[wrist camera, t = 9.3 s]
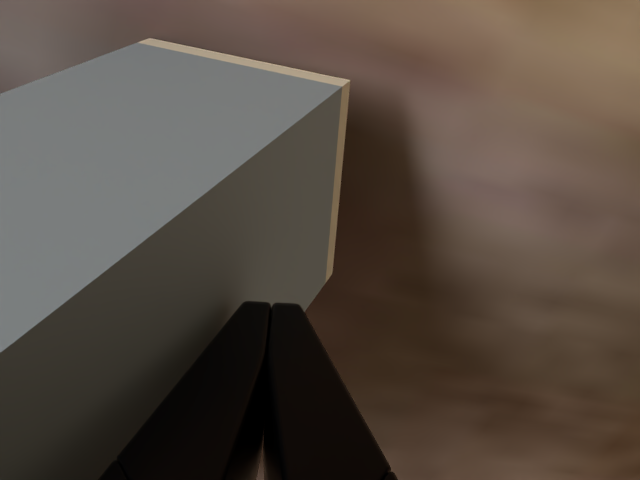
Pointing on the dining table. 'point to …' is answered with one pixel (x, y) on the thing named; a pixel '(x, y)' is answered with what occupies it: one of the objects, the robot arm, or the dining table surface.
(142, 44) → the gray block
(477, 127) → the dining table surface
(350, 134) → the dining table surface
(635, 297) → the dining table surface
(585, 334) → the dining table surface
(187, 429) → the robot arm
